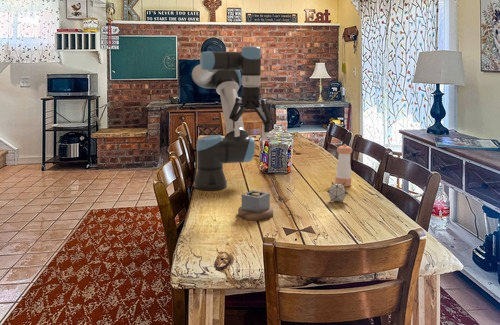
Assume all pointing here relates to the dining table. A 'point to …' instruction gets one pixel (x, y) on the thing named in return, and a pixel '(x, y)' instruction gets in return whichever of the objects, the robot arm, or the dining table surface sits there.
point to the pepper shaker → (343, 166)
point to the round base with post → (254, 216)
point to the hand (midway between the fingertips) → (250, 138)
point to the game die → (337, 192)
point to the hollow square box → (255, 202)
